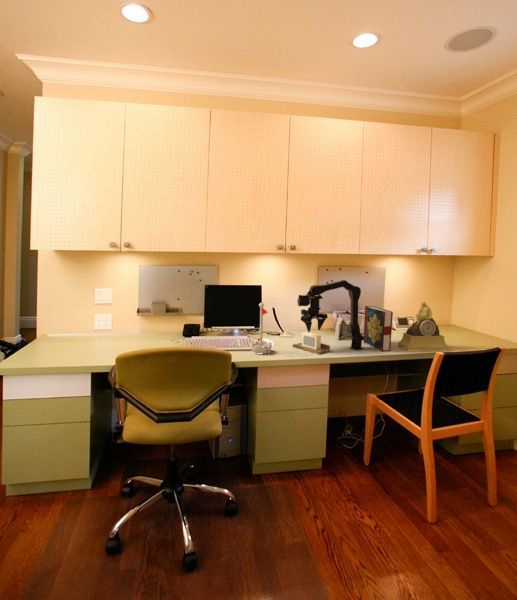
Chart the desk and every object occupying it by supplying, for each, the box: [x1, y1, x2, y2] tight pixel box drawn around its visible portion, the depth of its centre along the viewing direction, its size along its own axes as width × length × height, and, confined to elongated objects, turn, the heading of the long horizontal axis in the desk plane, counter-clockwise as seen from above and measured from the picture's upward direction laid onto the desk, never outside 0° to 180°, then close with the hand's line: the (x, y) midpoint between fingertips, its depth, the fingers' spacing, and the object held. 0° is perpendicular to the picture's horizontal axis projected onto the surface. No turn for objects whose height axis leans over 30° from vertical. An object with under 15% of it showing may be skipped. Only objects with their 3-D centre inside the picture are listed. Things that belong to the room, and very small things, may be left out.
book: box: [362, 305, 394, 352], centre depth 253 cm, size 25×7×25 cm, turn 14°
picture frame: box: [301, 331, 322, 349], centre depth 244 cm, size 4×12×8 cm, turn 40°
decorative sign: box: [334, 317, 351, 341], centre depth 279 cm, size 23×3×15 cm, turn 141°
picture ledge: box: [292, 342, 331, 355], centre depth 244 cm, size 10×22×4 cm, turn 40°
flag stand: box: [249, 302, 273, 354], centre depth 234 cm, size 13×13×30 cm
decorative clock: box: [397, 301, 451, 352], centre depth 250 cm, size 28×13×30 cm, turn 96°
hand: (313, 330), depth 242 cm, fingers open, 9 cm apart
